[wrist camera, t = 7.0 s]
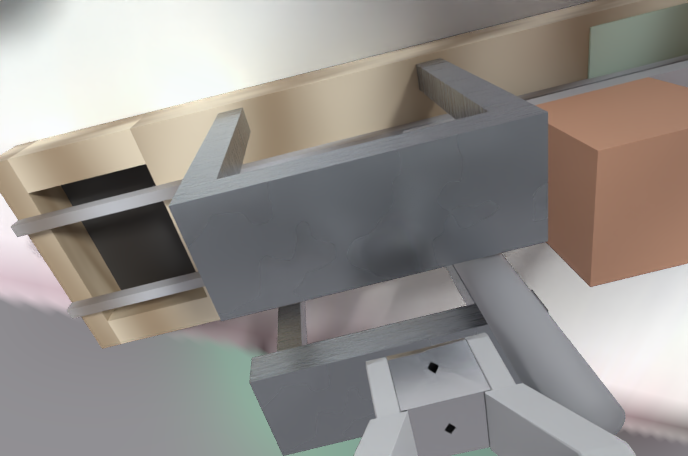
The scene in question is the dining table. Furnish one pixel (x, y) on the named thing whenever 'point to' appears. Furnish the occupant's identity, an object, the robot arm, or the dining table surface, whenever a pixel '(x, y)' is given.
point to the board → (280, 150)
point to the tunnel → (362, 239)
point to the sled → (595, 222)
